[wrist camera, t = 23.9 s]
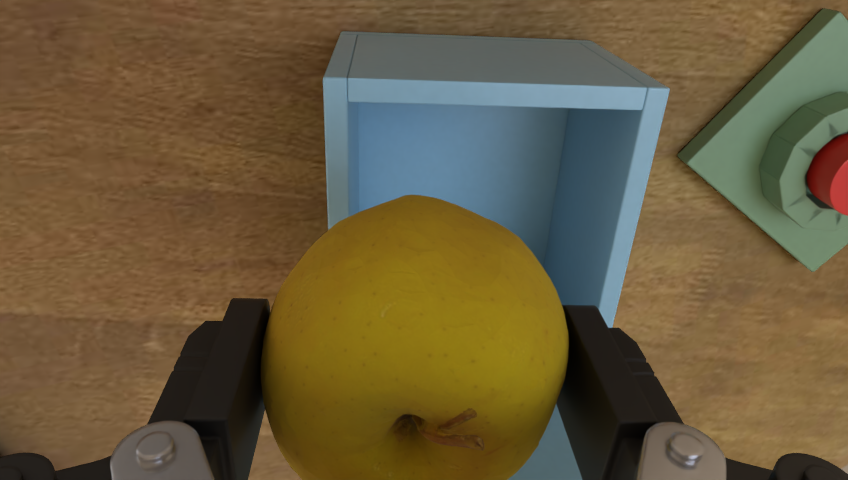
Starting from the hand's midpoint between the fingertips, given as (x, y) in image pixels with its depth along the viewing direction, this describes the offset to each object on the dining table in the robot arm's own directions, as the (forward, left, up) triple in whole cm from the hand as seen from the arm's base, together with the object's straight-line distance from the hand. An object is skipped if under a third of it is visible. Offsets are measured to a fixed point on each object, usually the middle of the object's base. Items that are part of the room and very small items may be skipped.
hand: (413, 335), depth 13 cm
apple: (0, 0, -4) cm, 4 cm away
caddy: (+4, -1, -18) cm, 18 cm away
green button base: (+18, +11, -18) cm, 28 cm away
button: (+18, +11, -15) cm, 26 cm away
